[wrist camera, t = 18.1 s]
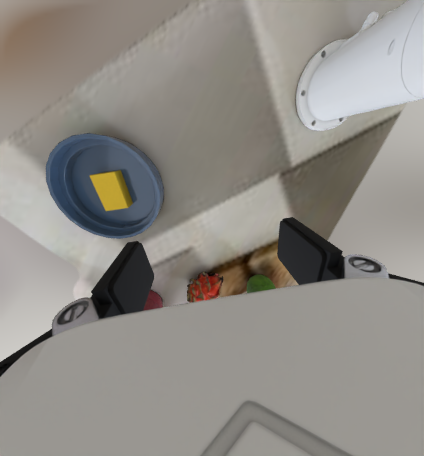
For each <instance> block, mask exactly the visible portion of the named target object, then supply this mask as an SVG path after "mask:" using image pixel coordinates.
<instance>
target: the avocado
mask: <svg viewBox="0 0 424 456" xmlns="http://www.w3.org/2000/svg"><path fill="white" fill-rule="evenodd" d="M271 289H276V288H275V286H274V284H273V283H272V281H271V280H270V279H269V278H268V277H266V276H264V275H261V274H257V275H254V276H252V277H251V278H250V279H249V281H248V283H247V293H252V292H258V291H265V290H271Z"/></svg>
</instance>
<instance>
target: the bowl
mask: <svg viewBox="0 0 424 456" xmlns="http://www.w3.org/2000/svg"><path fill="white" fill-rule="evenodd" d="M118 170H121V172H122V175H123V178H124V180H125V183H126V186H127V188H128V191H129V194H130V196H131V199H132V202H133V204H132V205H131V206H129V207H128V208H124V209H117V210H110V211H106V210H105V208H104V206H103V204H102V202H101V200H100V198H99V195H98V193H97V191H96V189H95V187H94V185H93V182H92V180H91V178H90V176H89V175H93V174H98V173H104V172H111V171H118ZM46 182H47V185H48V188H49V191H50V194H51V196H52V198H53V200H54V201H55V203H56V204H57V206H58V208H59V209H60V210H61V211H62V212H63V213H64V214H65V215H66V216H67V217H68V219H70V220H71V221H72V222H74V223H75V224H76V225H78V226H79V227H81V228H82V229H84V230H86V231H89V232H91V233H93V234H95V235H99V236H103V237H106V238H119V239H121V238H127V237H133V236H135V235H137V234H140V233H142V232H143V231H145V230H146V229H147V228H148V227H150V226H151V224H152V223H153V221H154V220H155V218H156V217H157V215H158V214H159V212H160V210H161V207H162V204H163V200H164V189H163V184H162V180H161V177H160V175H159V173H158V171H157V169H156V167H155V165H154V164H153V163H152V162H151V160H150V159H149V158H148V157H147V156H146V155H145V154H144V153H143V152H142V151H140V150H139V149H138V148H136V147H135V146H134V145H132V144H131V143H128V142H126V141H123V140H121V139H119V138H116V137H110V136H104V135H97V134H91V133H87V134H80V135H73V136H71V137H69V138H67V139H65V140H63V141H61V142H59V143H58V145H57V146H56V147H55V148H54V149H53V150H52V152H51V153H50V155H49V158H48V161H47V164H46Z"/></svg>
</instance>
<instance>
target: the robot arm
mask: <svg viewBox="0 0 424 456" xmlns="http://www.w3.org/2000/svg"><path fill="white" fill-rule="evenodd" d="M378 16H379V14H378V13H377V12H372V13H370V14H369V15H368V17H367V19H366V20H365V22H364V24H363V26H362V28H361V30H360V31H359V32H358V33H357V34H355V35H354V36H353V37H351V38H350V39H341V40H337V41H334V42H331V43H330V44H328V45H326V46H325V47H323V48H322V49H321V50H320V51H319V52H317V53H316V54H315V56H314V57H313V58H312V59H311V60H310V61H309V63H308V64H307V66H306V67H305V69H304V71H303V73H302V75H301V78H300V81H299V84H298V88H297V93H296V107H297V112H298V116H299V118H300V120H301V121H302V123H303V124H304V125H305V126H306V127H308V128H309V129H312V130H315V131H323V130H328V129H332V128H334V127H336V126H338V125H340V124H341V123H343V122H344V121H345V120H346V119H347V118H348V117H349V116H351V115H355V114H359V113H364V112H368V111H372V110H377V109H381V108H385V107H390V106H394V105H398V104H403V103H407V102H411V101H415V100H420V99H424V0H408V1H406V2H405V3H403V4H402V5H401V6H399V7H398V8H396V9H395V10H390V11H388V12H386V13H385V14H384V15H383V17H382V19H381V20H380V21H378V22H377V23H375V22H376V20H377V18H378ZM277 254H278V258H279V260H280V261H281V262H282V263H283V265H284V266H285V267H286V269H287V270H288V271H289V273H290V274H291V275H292V276H293V278H294V279H295V280H296V282H297V283H298V284H299V285H296V286H290V287H283V288H277V289H271V290H265V291H258V292H252V293H246V294H240V295H234V296H228V297H222V298H216V299H210V300H204V301H198V302H192V303H186V304H180V305H174V306H169V307H163V308H157V309H151V310H145V311H143V310H144V307H145V304H146V301H147V298H148V295H149V292H150V289H151V286H152V283H153V280H154V273H153V271H152V268H151V266H150V263H149V261H148V258H147V255H146V253H145V250H144V248H143V245H142V243H139V242H138V241H135V242H128V243H127V244H126V246H125V247H124V248H123V250H122V251H121V252H120V254H119V255H118V256H117V258H116V259H115V260H114V262H113V263H112V264H111V266H110V267H109V268H108V270H107V271H106V272H105V274H104V275H103V276H102V278H101V279H100V280H99V282H98V283H97V284H96V286H95V287H94V288H93V290H92V291H91V293H92V294H93V295H92V296H91V298H81V299H78V300H76V301H74V302H72V303H70V304H69V305H67V306H65V308H63V309H62V310H61V311H60V312H59V313H58V314H57V315H56V316H55V318H54V319H53V322H52V329H51V330H49V331H48V332H46V333H45V334H43V335H41V336H40V337H38V338H37V339H35V340H34V341H32V342H31V343H29V344H28V345H26V346H25V347H23V348H21V349H20V350H18V351H17V352H16V353H14V354H12V355H11V356H9V357H7V358H6V359H4V360H3V361H1V362H0V456H424V283H422V282H418V281H415V280H411V279H407V278H403V277H399V276H396V275H392V274H388V272H387V269H386V268H385V266H384V265H383V264H382V263H380V262H378V261H377V260H375V259H373V258H370V257H367V256H363V255H348V256H346V257H343V256H342V251H341V250H340V249H338V248H337V247H335V246H334V245H333V244H331V243H330V242H328V241H327V240H325V239H324V238H322V237H321V236H319V235H318V234H317V233H315V232H314V231H312V230H311V229H309V228H308V227H306V226H305V225H303V224H302V223H300V222H299V221H298V220H296V219H295V218H293V217H291V218H285V219H283V220H282V221H281V222H280V229H279V241H278V253H277Z"/></svg>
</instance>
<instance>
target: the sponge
mask: <svg viewBox="0 0 424 456" xmlns="http://www.w3.org/2000/svg"><path fill="white" fill-rule="evenodd" d="M89 176H90V178H91V180H92V182H93V185H94V187H95V189H96V191H97V193H98V195H99V198H100V200H101V202H102V204H103V206H104V208H105V210H106V211H110V210H117V209H124V208H128V207H129V206H131V205H132V204H133V202H132V199H131V196H130V194H129V191H128V188H127V186H126V183H125V180H124V178H123V175H122V172H121V170H118V171H111V172H104V173H98V174H93V175H89Z"/></svg>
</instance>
